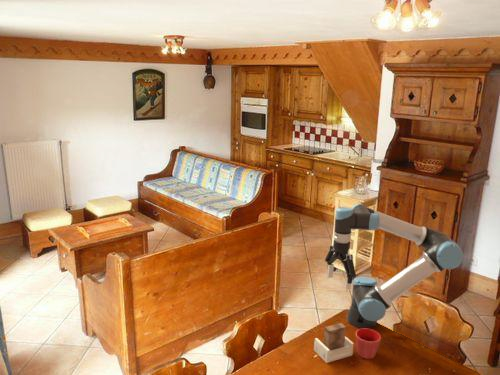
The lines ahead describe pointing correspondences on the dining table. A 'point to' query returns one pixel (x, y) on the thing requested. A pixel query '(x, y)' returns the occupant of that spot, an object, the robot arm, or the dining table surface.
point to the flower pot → (367, 342)
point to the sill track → (333, 354)
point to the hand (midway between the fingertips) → (338, 283)
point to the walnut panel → (334, 336)
